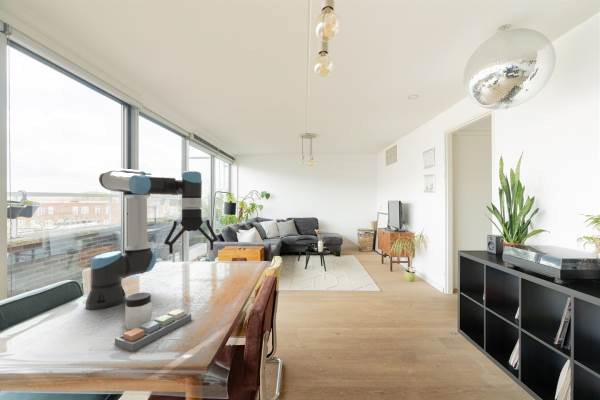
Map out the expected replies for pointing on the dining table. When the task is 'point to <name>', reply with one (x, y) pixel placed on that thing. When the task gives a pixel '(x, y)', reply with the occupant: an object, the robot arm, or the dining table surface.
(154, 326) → the key slate
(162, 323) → the key sage
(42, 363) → the dining table surface
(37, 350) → the dining table surface
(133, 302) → the jar
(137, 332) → the key terracotta
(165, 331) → the grey compartment tray
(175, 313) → the key cream
